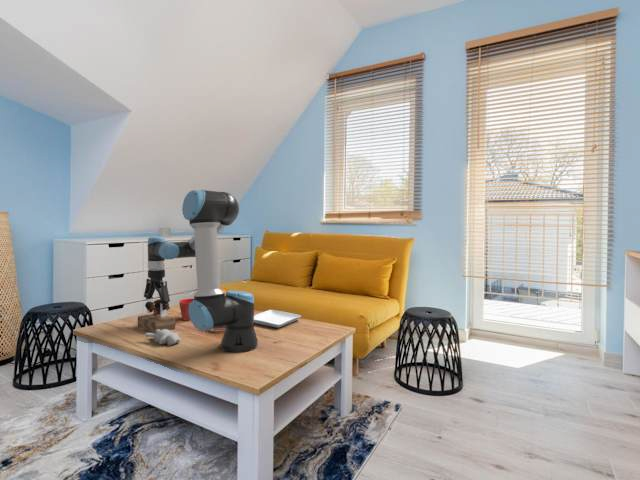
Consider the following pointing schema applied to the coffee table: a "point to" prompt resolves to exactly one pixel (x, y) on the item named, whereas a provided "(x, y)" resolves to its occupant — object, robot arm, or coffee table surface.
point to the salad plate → (275, 318)
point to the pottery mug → (155, 307)
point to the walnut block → (156, 322)
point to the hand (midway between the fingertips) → (156, 314)
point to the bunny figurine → (164, 337)
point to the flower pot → (185, 308)
